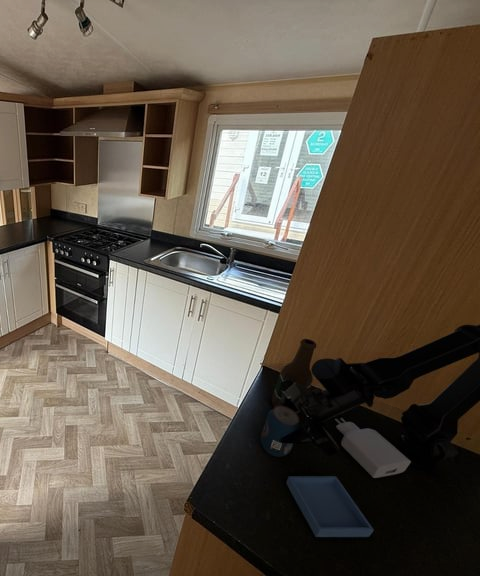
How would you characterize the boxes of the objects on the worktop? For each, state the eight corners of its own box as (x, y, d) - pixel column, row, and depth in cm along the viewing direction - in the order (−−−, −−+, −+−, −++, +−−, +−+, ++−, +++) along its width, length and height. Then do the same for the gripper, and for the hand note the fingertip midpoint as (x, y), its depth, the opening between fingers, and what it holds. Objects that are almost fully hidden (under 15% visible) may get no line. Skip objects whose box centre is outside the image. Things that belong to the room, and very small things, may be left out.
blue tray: (332, 483, 73) (336, 476, 72) (369, 537, 64) (374, 530, 62) (285, 483, 73) (288, 476, 72) (315, 537, 64) (319, 530, 62)
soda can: (261, 431, 86) (272, 399, 81) (290, 444, 83) (303, 411, 77) (256, 449, 81) (268, 417, 76) (287, 464, 78) (301, 431, 72)
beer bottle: (265, 397, 97) (286, 334, 87) (288, 395, 98) (312, 332, 87) (281, 418, 90) (306, 351, 80) (306, 415, 91) (334, 349, 80)
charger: (349, 422, 89) (403, 472, 76) (320, 427, 88) (371, 479, 74) (355, 410, 87) (412, 460, 74) (326, 415, 85) (379, 466, 72)
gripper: (297, 354, 80) (243, 384, 85) (342, 412, 63) (272, 444, 69) (320, 379, 82) (266, 407, 88) (369, 442, 66) (299, 470, 72)
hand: (274, 429), depth 79 cm, fingers closed on soda can, 7 cm apart
